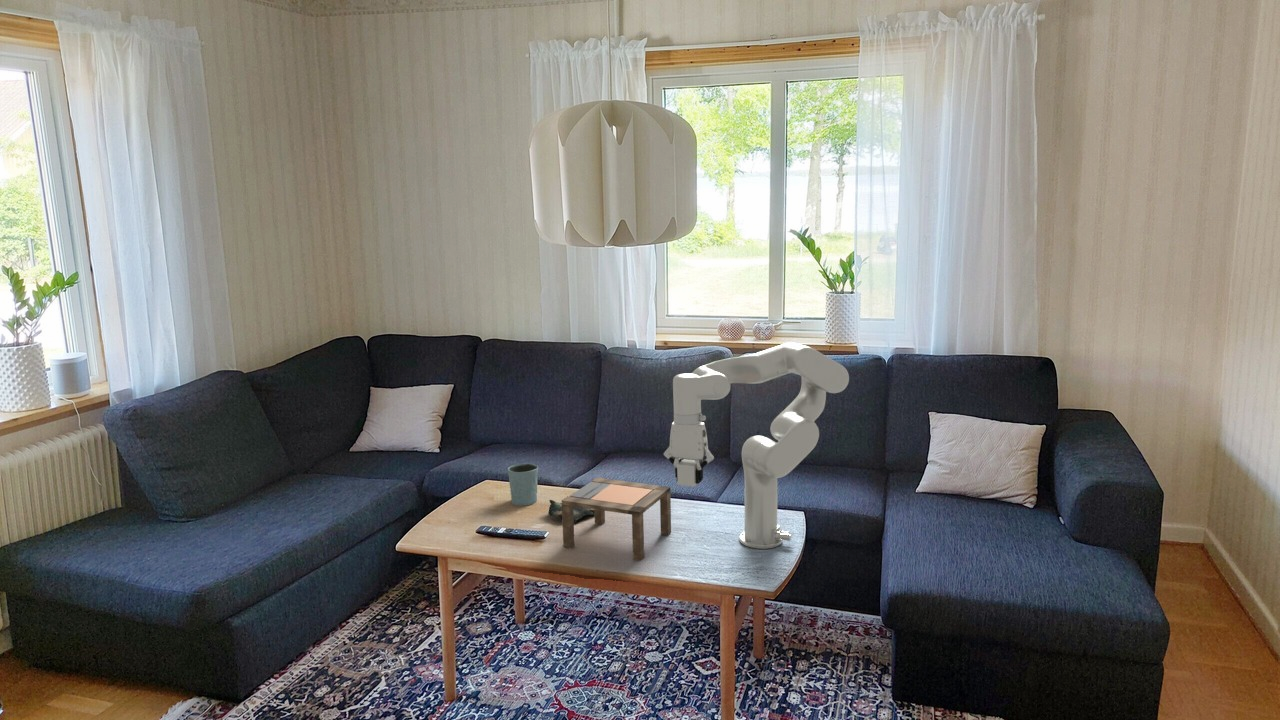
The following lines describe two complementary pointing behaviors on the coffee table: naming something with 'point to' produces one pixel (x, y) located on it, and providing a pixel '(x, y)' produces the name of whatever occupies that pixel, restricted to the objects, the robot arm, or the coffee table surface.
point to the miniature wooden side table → (636, 512)
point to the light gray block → (686, 473)
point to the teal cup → (523, 483)
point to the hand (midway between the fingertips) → (689, 480)
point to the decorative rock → (556, 510)
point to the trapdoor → (610, 494)
